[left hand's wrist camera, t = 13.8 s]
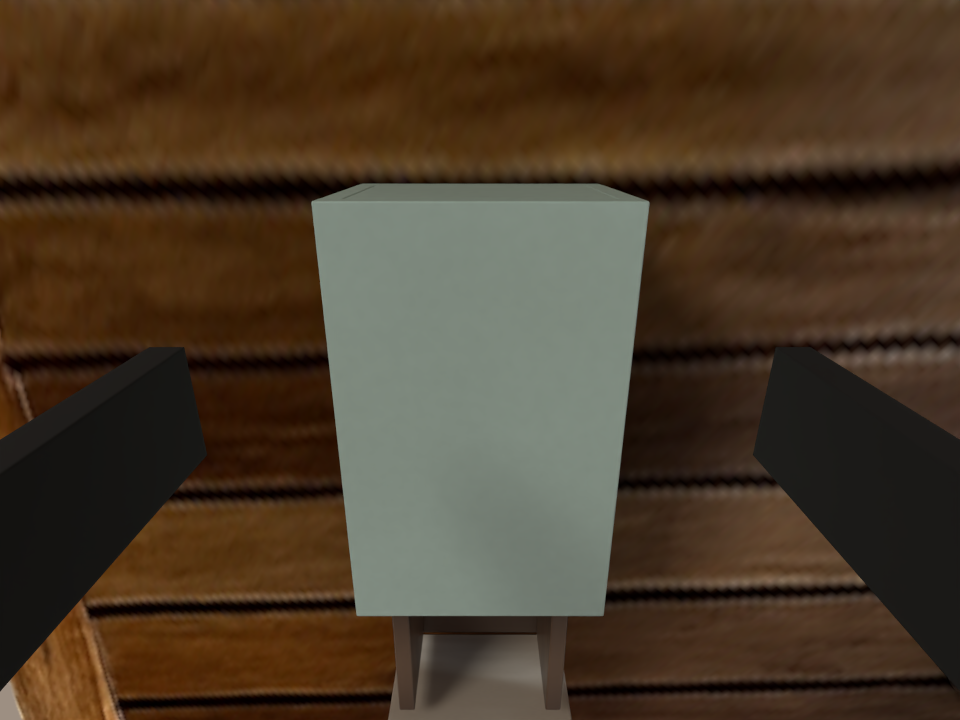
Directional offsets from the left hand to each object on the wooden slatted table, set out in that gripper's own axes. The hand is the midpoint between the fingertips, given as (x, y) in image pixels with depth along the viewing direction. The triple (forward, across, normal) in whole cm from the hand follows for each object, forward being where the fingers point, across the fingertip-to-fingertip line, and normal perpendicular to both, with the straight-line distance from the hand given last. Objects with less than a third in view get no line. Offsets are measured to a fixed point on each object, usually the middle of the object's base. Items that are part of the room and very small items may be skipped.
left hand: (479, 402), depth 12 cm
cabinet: (+15, 0, -5) cm, 16 cm away
